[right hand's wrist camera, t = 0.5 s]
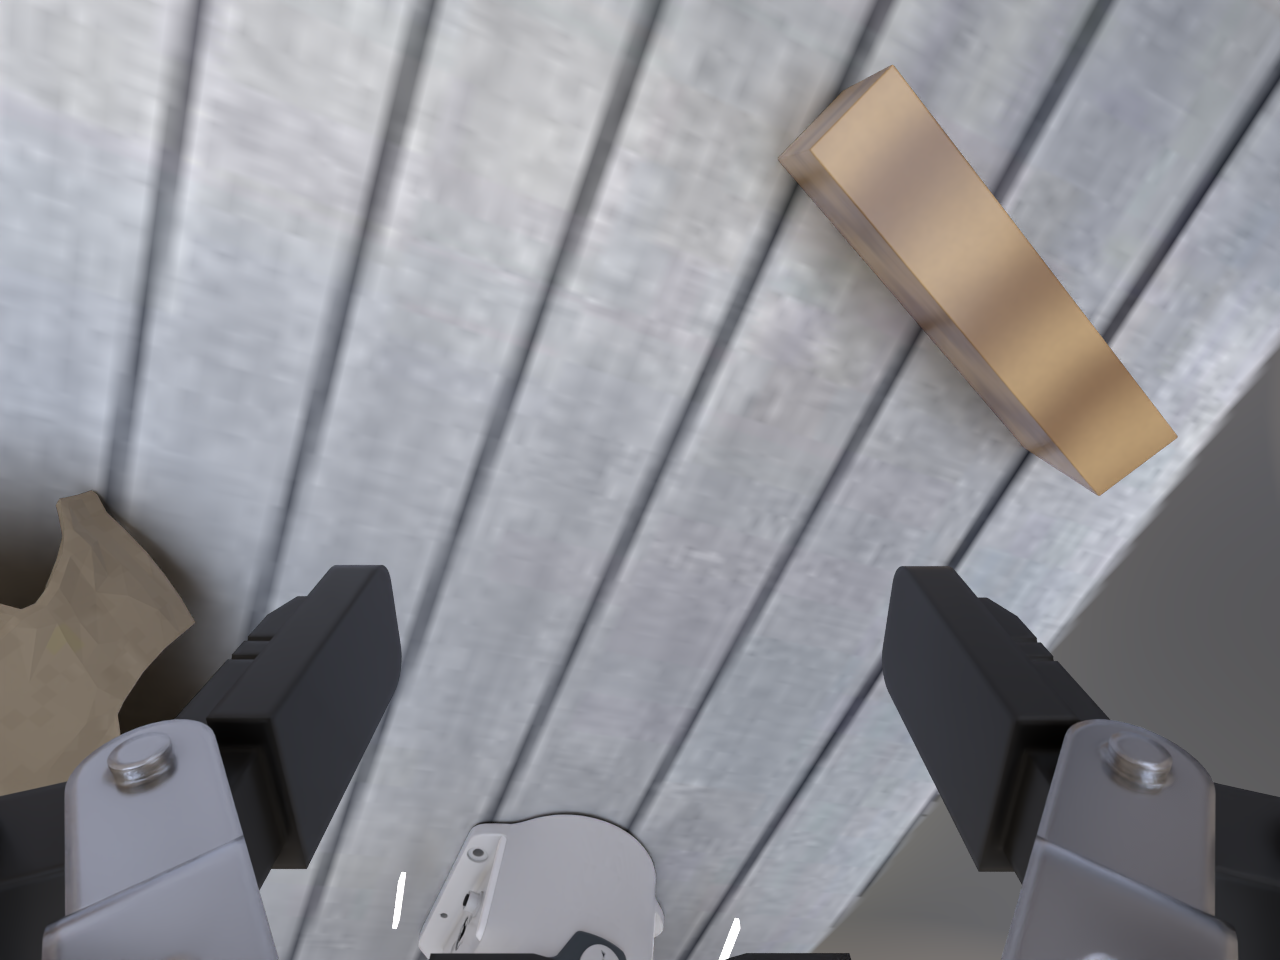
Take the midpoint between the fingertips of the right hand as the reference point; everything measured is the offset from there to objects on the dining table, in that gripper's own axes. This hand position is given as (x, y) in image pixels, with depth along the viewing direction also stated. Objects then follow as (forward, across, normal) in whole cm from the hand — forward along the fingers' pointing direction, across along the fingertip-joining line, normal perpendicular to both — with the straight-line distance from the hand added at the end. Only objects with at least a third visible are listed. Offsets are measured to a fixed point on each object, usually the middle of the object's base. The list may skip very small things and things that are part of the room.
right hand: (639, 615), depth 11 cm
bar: (+33, -18, -1) cm, 37 cm away
